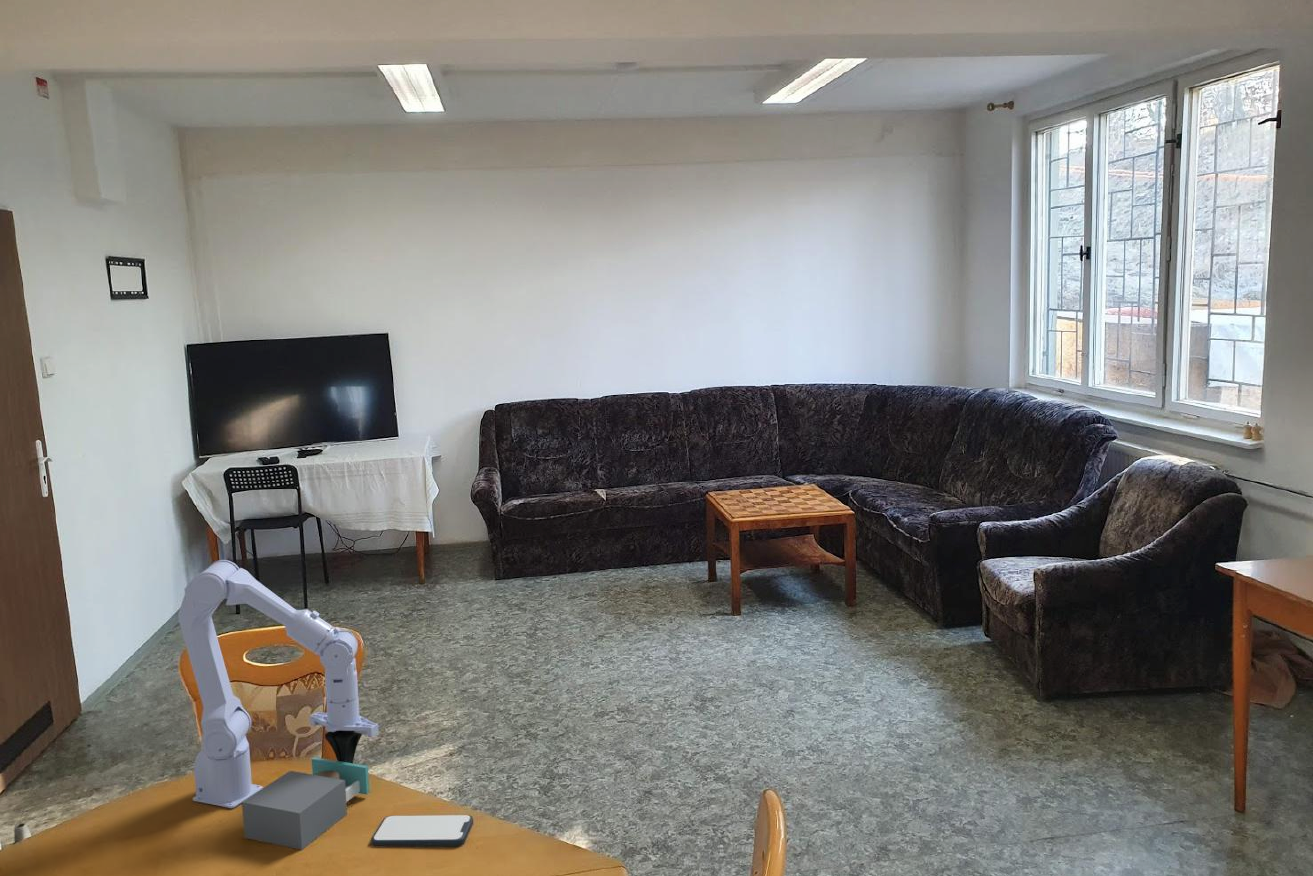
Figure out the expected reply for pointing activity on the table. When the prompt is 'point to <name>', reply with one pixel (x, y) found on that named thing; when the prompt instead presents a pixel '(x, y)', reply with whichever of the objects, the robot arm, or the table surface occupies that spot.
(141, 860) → the table surface
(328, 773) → the brown cork
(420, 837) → the smartphone
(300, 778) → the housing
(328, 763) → the tray
